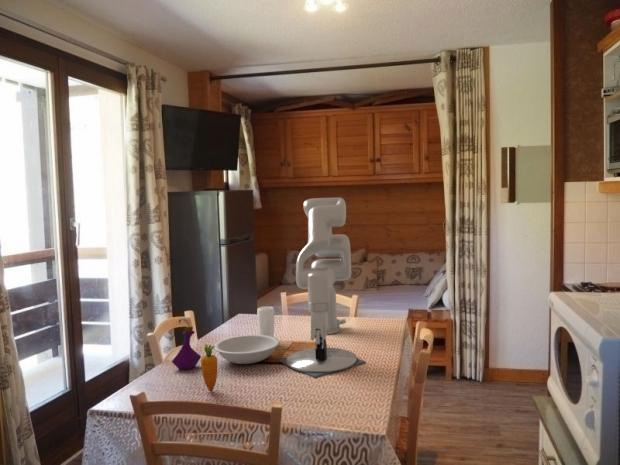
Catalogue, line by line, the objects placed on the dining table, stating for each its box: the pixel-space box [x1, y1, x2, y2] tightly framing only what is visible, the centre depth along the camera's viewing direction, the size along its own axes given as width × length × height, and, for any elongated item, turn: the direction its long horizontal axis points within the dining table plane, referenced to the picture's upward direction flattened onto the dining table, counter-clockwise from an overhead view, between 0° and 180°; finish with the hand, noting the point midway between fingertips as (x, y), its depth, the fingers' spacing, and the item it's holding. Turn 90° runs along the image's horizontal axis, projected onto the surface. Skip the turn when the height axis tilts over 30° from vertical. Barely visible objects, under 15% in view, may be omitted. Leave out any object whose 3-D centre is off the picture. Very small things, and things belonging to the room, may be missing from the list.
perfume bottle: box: [171, 317, 202, 371], centre depth 182 cm, size 8×8×18 cm
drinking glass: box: [256, 306, 275, 337], centre depth 206 cm, size 7×7×15 cm
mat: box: [278, 357, 366, 379], centre depth 182 cm, size 22×22×1 cm
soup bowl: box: [213, 334, 280, 365], centre depth 187 cm, size 24×24×7 cm
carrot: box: [200, 343, 218, 393], centre depth 158 cm, size 5×5×15 cm
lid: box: [285, 341, 358, 373], centre depth 182 cm, size 25×25×6 cm
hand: (321, 356), depth 182 cm, fingers closed on lid, 4 cm apart
